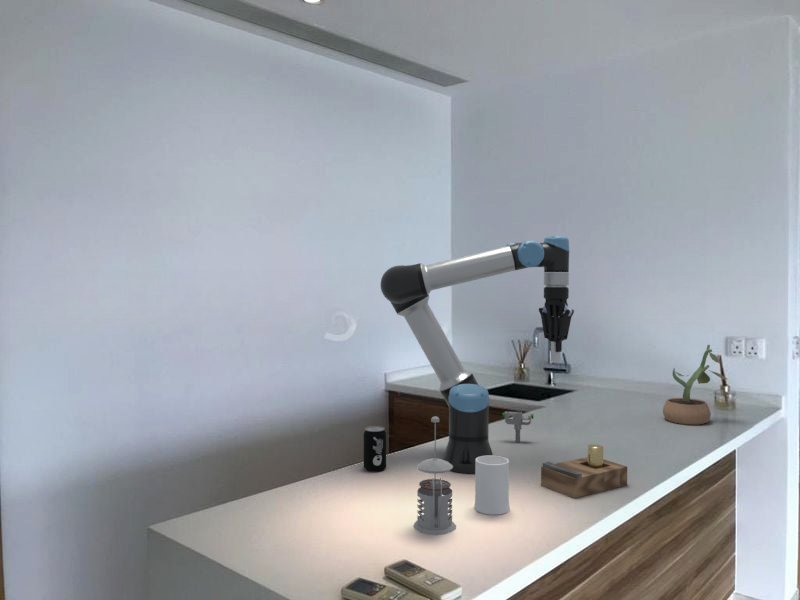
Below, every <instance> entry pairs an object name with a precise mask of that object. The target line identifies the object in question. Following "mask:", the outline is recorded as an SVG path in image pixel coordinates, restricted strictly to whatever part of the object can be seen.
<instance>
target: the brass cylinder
mask: <svg viewBox="0 0 800 600" xmlns="http://www.w3.org/2000/svg"><path fill="white" fill-rule="evenodd" d="M587 457H588V467H591V468H594V469H598V468H602V467H603V459H604V446H603V445H601V444H595V443H593V444H592V443H591V444H588V445H587Z"/></svg>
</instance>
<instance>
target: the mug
mask: <svg viewBox="0 0 800 600" xmlns="http://www.w3.org/2000/svg"><path fill="white" fill-rule="evenodd" d="M474 475H475V477H474V478H475V479H474V483H475V484H474V485H475V486H474V492H475V493H474V506H473V508H474V510H475V511H476V512H478V513H479V514H484V515H489V516H490V515H491V516H501V515H504V514H508V512H510V509H511V508H510V502H509V501H510V500H509V498H510V497H509V496H510V488H509V487H510V460H509V459H508V458H507V457H504V456H499V455H487V456H480V457H477V458H476V460H475V473H474Z"/></svg>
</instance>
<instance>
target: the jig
mask: <svg viewBox="0 0 800 600" xmlns="http://www.w3.org/2000/svg"><path fill="white" fill-rule="evenodd" d="M540 486H543V487H544V488H547V489H550V490H553V491H555V492H558V493H560V494H563V495H565V496H568V497H570V498H573V499H577V498H581V497H585V496H589V495H594V494H597V493H601V492H604V491H608V490H613V489H616V488H620V487H621V488H622V487H624V486H628V466H627V465H624V464H621V463H617V462H614V461H610V460H607V459H605V458H603V467H602V468H598V469H594V468H591V467H588V456H586V457H581V458H577V459H572V460H568V461H567V460H566V461H562V462H557V463H553V462H550V461H545V462H542V466H541V468H540Z"/></svg>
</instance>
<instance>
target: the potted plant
mask: <svg viewBox="0 0 800 600" xmlns="http://www.w3.org/2000/svg"><path fill="white" fill-rule="evenodd" d="M710 347H711V345H710V344H707V346H706V348H705V349H706V350H705V351H704V352H703V355H702V358H701V359H702V360H701V362H700V366H699V367H698V368H697V369H696V370H695V371H694V372H693V374H692V375H691V376H690V377H689V378H688V380H687V381H685V380H683V379H682V378H680V377H684V374H681V373H679V372H677V371H675V370H676V369H675V367H673V369H672V373H671V374H672V377H673V379H674V380H675V381H676V382H677V383H678V384H679V385H681V386H682V387H683V388H684V389H683V392H682V393H683V394H682V397H672V398H668V399H665V403H664V404H663V408H662V413H663V417H664V419H665V420H667V421H668V422H670V423H673V422H674V424H677V423H679V424H678V425H684V424H686V425H687V426H700V424H702V425H705V424H707V423H708V422H709V421H710V419H711V415H712V413H711V410H710V407H709V405H708V403H707V401H705V400H701V399H696V398H691V390H692V387H693V385H694V382H695V381H696V380H697V382H698V384H699V385H700V384H708V383H709V382H710V381H711V378H710V376H709V375H708V374H707V373H706V371H707V370H708V371H710V372H711V373H712V374H714V375H716V376H717V377H719V378H721V380H728V378H727V377H725V376H724V375H723V374H721V373H718V372H716V371H712V370H710V369H709V368H710V366H711V365H709V364H707V365H706V361H707V358H708V355H709V357H710V359H712V360H713V362H715V363H718V364H720V361H719V357H718V356H717V355H716V354H714V353H712V352H713V350H712V348H710ZM689 375H690V374H687V375H686V377H688V376H689ZM704 423H705V424H704ZM686 425H685V426H686Z"/></svg>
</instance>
